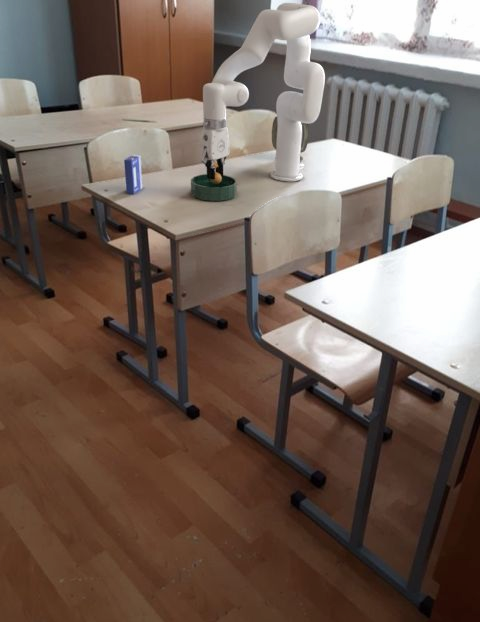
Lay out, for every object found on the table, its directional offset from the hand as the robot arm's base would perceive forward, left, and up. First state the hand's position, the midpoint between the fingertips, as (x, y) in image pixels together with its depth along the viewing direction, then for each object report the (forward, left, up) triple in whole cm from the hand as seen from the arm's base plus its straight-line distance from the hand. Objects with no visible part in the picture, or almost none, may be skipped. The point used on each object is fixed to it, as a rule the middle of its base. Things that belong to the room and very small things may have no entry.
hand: (215, 176), depth 211 cm
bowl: (+1, 0, -6) cm, 6 cm away
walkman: (+18, -23, -6) cm, 29 cm away
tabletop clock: (-59, -9, -6) cm, 60 cm away
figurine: (+1, 0, -3) cm, 3 cm away
